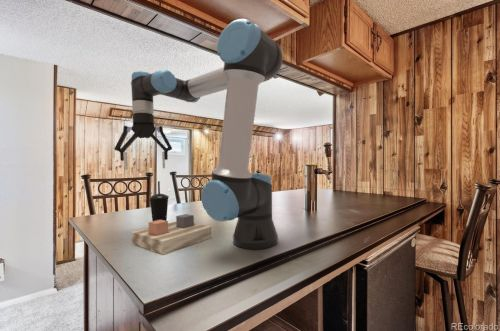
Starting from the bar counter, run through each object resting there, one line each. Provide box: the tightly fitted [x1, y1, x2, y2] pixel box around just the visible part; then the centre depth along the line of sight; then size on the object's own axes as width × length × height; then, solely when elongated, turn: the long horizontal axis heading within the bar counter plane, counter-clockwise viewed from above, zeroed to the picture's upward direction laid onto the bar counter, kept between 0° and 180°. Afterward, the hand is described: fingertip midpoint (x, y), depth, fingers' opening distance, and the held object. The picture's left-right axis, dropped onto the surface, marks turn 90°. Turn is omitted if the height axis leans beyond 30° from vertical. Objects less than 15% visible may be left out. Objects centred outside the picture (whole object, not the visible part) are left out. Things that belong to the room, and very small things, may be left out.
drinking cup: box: [148, 180, 170, 222], centre depth 102 cm, size 8×8×20 cm
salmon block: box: [148, 220, 169, 236], centre depth 83 cm, size 4×4×5 cm
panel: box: [131, 221, 213, 256], centre depth 87 cm, size 18×20×4 cm
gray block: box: [175, 213, 195, 228], centre depth 92 cm, size 4×4×5 cm
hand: (145, 169), depth 96 cm, fingers open, 13 cm apart
